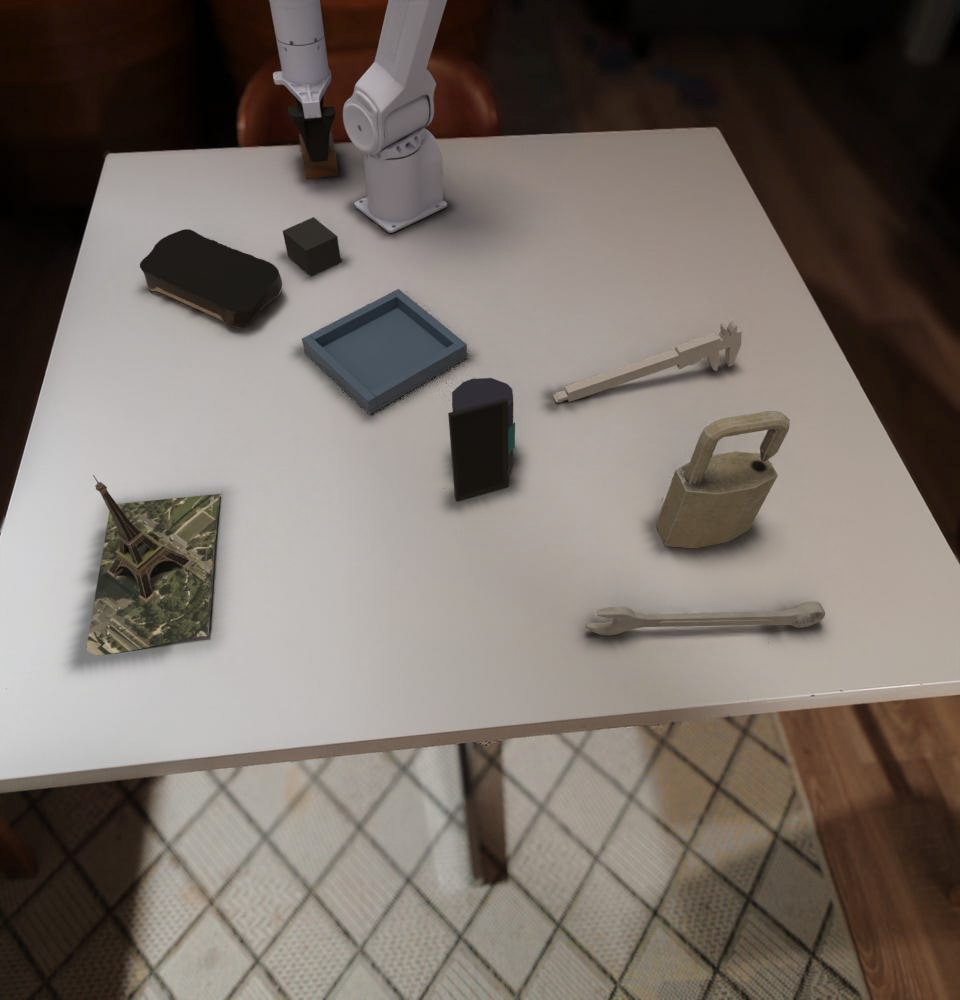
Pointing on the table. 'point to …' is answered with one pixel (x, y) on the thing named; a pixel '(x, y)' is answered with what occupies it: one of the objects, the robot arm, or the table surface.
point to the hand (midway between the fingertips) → (316, 144)
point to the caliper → (662, 362)
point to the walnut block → (323, 167)
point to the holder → (384, 350)
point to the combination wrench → (705, 618)
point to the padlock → (721, 484)
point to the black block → (312, 246)
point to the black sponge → (211, 277)
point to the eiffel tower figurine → (154, 573)
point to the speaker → (481, 436)
